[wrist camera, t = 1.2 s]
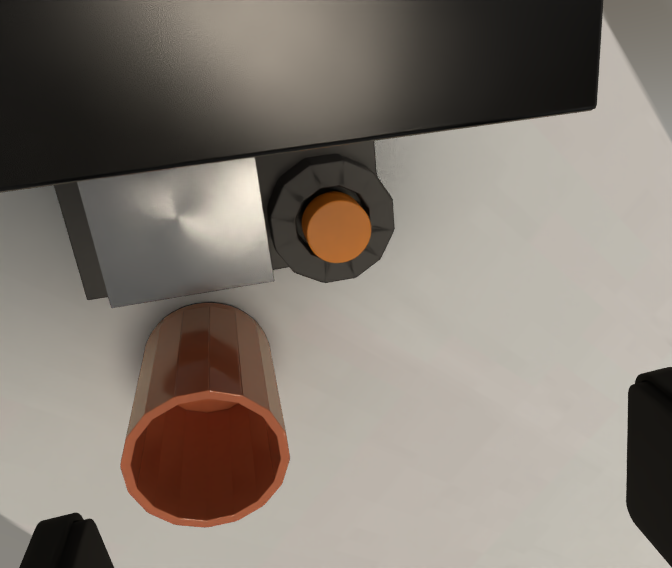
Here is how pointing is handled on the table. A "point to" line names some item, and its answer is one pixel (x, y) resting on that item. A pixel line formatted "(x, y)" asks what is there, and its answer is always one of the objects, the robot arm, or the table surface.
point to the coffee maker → (254, 107)
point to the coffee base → (277, 211)
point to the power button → (336, 227)
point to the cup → (205, 419)
